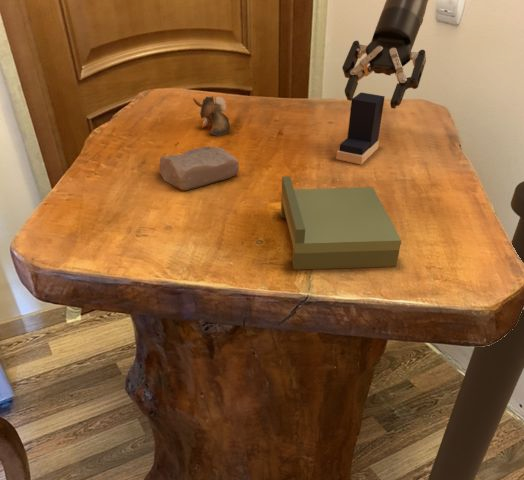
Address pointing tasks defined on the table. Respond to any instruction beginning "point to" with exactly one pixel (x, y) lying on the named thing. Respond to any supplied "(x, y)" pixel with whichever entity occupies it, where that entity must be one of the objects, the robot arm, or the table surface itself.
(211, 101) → the brown animal figurine
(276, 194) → the table surface
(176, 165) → the stone block
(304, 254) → the green flanged plate
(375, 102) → the high-top shoe
